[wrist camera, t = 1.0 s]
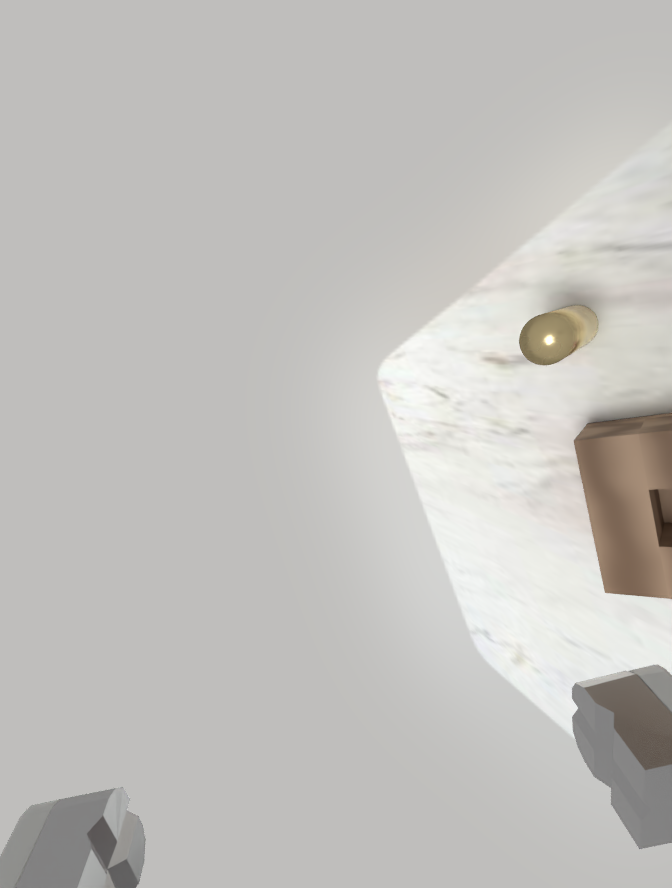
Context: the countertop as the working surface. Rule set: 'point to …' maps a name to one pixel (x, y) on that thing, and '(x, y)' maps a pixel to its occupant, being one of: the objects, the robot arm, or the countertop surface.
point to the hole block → (630, 501)
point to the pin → (557, 334)
